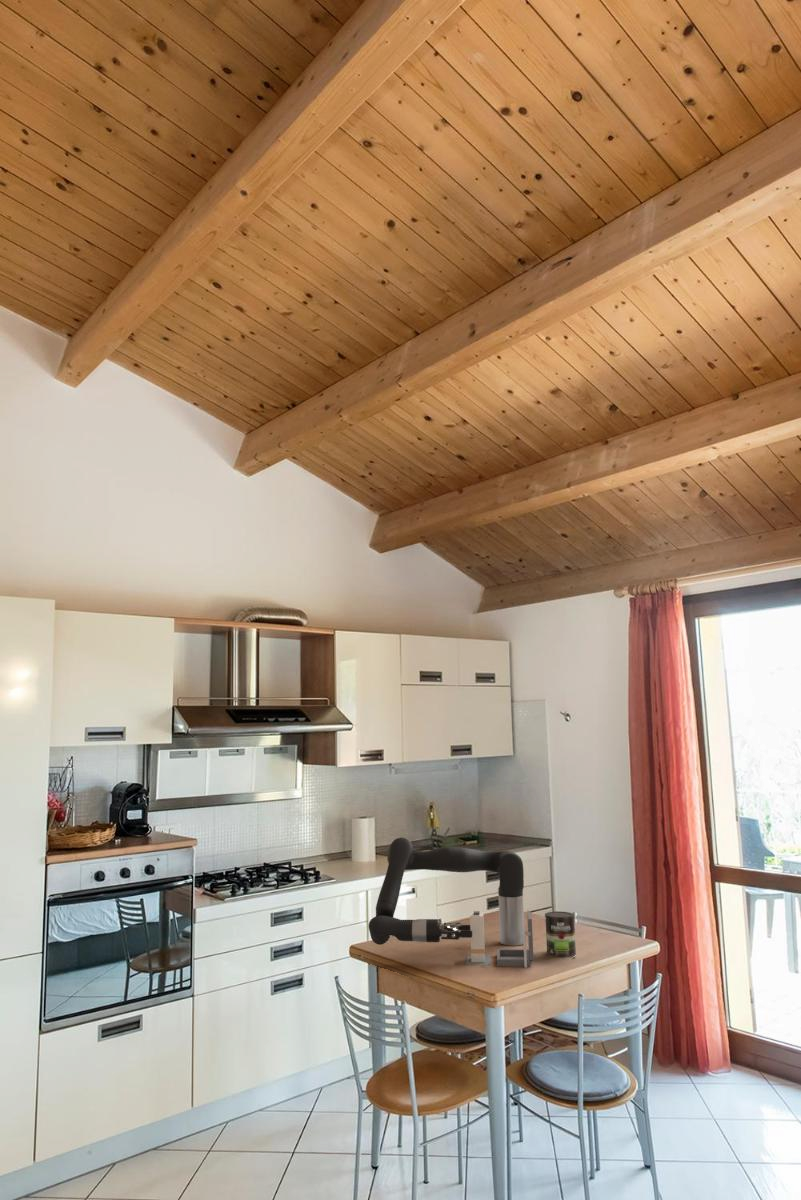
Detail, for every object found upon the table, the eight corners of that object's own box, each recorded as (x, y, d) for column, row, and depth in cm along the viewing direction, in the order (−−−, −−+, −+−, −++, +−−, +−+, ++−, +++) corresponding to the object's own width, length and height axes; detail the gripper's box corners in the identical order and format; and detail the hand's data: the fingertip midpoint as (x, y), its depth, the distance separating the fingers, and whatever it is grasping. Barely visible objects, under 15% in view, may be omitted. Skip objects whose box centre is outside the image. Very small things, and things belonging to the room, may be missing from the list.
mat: (467, 958, 287) (467, 955, 288) (490, 958, 287) (490, 955, 287) (465, 967, 276) (465, 964, 276) (489, 968, 275) (489, 965, 275)
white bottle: (471, 958, 284) (470, 910, 287) (484, 958, 284) (483, 910, 286) (471, 962, 279) (469, 913, 282) (484, 962, 279) (483, 913, 281)
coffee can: (577, 960, 283) (575, 917, 285) (547, 959, 284) (545, 917, 287) (575, 952, 293) (573, 911, 295) (546, 952, 294) (544, 911, 297)
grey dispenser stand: (497, 958, 287) (495, 910, 290) (532, 958, 286) (530, 910, 288) (497, 970, 272) (495, 919, 275) (534, 970, 271) (531, 920, 273)
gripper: (423, 923, 279) (471, 924, 277) (427, 915, 293) (473, 915, 291) (424, 947, 277) (472, 947, 275) (428, 937, 291) (473, 937, 289)
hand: (472, 931), depth 283 cm, fingers open, 8 cm apart
